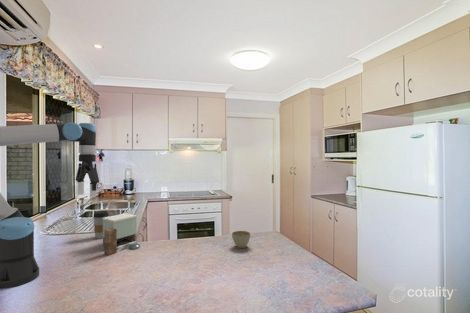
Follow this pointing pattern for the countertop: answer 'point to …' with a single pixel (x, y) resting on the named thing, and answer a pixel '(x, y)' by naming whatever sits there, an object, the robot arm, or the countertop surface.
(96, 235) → the coffee cup
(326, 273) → the countertop surface
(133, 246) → the token
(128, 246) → the brown angled piece
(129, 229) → the pale green box
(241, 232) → the flower pot
